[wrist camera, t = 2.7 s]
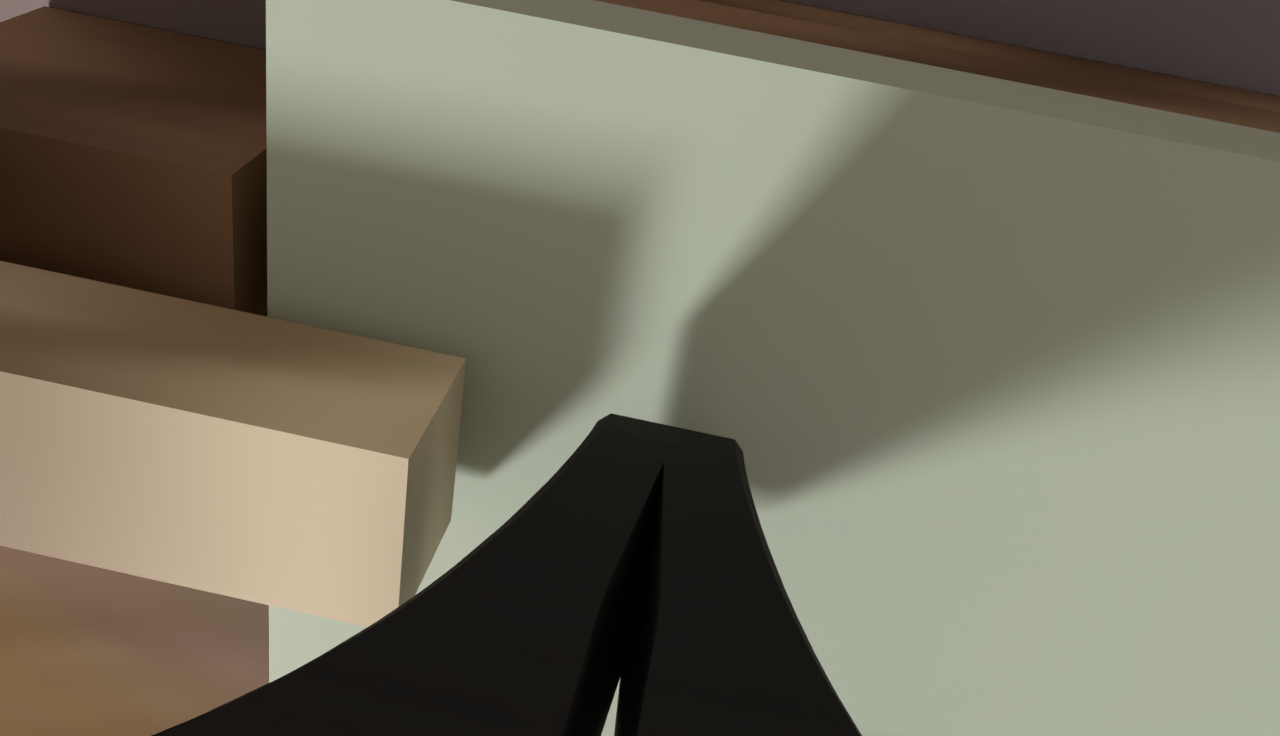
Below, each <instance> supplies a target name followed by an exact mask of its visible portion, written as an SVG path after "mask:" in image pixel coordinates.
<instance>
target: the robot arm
mask: <svg viewBox="0 0 1280 736" xmlns="http://www.w3.org/2000/svg"><path fill="white" fill-rule="evenodd" d="M619 679H620V685H619V694H618V703H617V712H616V721H615V730H614V736H862V735H861V733H860V731H859V730H858V728H857V726H856V725H855V723H854V721H853V720H852V718H851V716H850V715H849V713H848V712H847V710H846V708H845V707H844V705H843V703H842V702H841V700H840V698H839V697H838V695H837V693H836V691H835V690H834V688H833V686H832V684H831V682H830V681H829V679H828V677H827V675H826V673H825V671H824V669H823V668H822V666H821V664H820V662H819V660H818V658H817V656H816V654H815V652H814V650H813V648H812V646H811V644H810V642H809V640H808V638H807V636H806V634H805V632H804V630H803V628H802V625H801V623H800V621H799V619H798V617H797V615H796V613H795V611H794V608H793V606H792V604H791V601H790V599H789V597H788V595H787V592H786V590H785V588H784V585H783V583H782V580H781V577H780V575H779V572H778V570H777V567H776V565H775V562H774V560H773V557H772V555H771V552H770V549H769V547H768V544H767V541H766V539H765V536H764V533H763V530H762V527H761V524H760V521H759V517H758V514H757V511H756V508H755V504H754V501H753V498H752V494H751V490H750V486H749V482H748V478H747V474H746V468H745V463H744V455H743V451H742V449H741V448H740V446H739V445H738V443H737V442H736V441H735V439H731V438H726V437H721V436H717V435H712V434H707V433H702V432H698V431H693V430H688V429H683V428H679V427H674V426H669V425H664V424H660V423H655V422H650V421H645V420H641V419H636V418H631V417H626V416H622V415H617V414H612V413H611V414H609V415H607V416H605V417H604V418H602V419H600V420H598V421H597V423H596V424H595V426H594V427H593V429H592V430H591V432H590V433H589V434H588V436H587V437H586V438H585V440H584V441H583V442H582V443H581V445H580V446H579V447H578V448H577V449H576V451H575V452H574V453H573V454H572V455H571V456H570V458H569V459H568V460H567V461H566V462H565V463H564V464H563V465H562V466H561V468H560V469H559V470H558V471H557V472H556V473H555V474H554V475H553V476H552V477H551V478H550V479H549V481H548V482H547V483H546V484H545V485H543V486H542V487H541V488H540V489H539V490H538V491H537V492H536V493H535V494H534V495H533V496H532V497H531V498H530V499H529V500H528V501H527V502H526V503H525V504H524V505H523V506H522V507H521V508H520V509H519V510H518V511H517V512H516V513H515V514H514V515H513V516H512V517H511V518H510V519H509V520H508V521H506V522H505V523H504V524H503V525H502V526H501V527H500V528H499V529H497V530H496V531H495V532H494V533H493V534H492V535H490V536H489V537H488V538H487V539H486V540H484V541H483V542H482V543H481V544H480V545H479V546H477V547H476V548H475V549H474V550H473V551H471V552H470V553H469V554H468V555H467V556H465V557H464V558H463V559H462V560H461V561H460V562H458V563H457V564H456V565H455V566H454V567H452V568H451V569H450V570H448V571H447V572H446V573H445V574H443V575H442V576H441V577H439V578H438V579H437V580H435V581H434V582H433V583H431V584H430V585H429V586H427V587H426V588H425V589H423V590H422V591H420V592H419V593H418V594H416V595H415V596H414V597H412V598H411V599H409V600H408V601H406V602H405V603H403V604H402V605H400V606H399V607H398V608H396V609H395V610H393V611H392V612H390V613H389V614H387V615H386V616H384V617H383V618H381V619H380V620H378V621H377V622H375V623H374V624H372V625H370V626H369V627H367V628H365V629H364V630H362V631H360V632H359V633H357V634H355V635H354V636H352V637H350V638H349V639H347V640H345V641H344V642H342V643H340V644H339V645H337V646H336V647H334V648H332V649H331V650H329V651H327V652H326V653H324V654H322V655H321V656H319V657H317V658H315V659H313V660H312V661H310V662H308V663H306V664H304V665H303V666H301V667H299V668H297V669H295V670H294V671H292V672H290V673H288V674H286V675H284V676H282V677H280V678H278V679H276V680H274V681H272V682H270V683H268V684H266V685H264V686H262V687H260V688H258V689H255V690H253V691H251V692H249V693H247V694H245V695H243V696H241V697H239V698H236V699H234V700H232V701H230V702H228V703H226V704H224V705H222V706H220V707H218V708H215V709H213V710H211V711H209V712H207V713H205V714H203V715H200V716H198V717H196V718H193V719H191V720H189V721H187V722H184V723H182V724H179V725H177V726H174V727H172V728H169V729H167V730H164V731H162V732H160V733H157V734H155V735H152V736H601V734H602V731H603V728H604V725H605V722H606V719H607V716H608V713H609V710H610V707H611V704H612V701H613V698H614V695H615V692H616V689H617V686H618V683H619Z"/></svg>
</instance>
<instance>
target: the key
mask: <svg viewBox="0 0 1280 736" xmlns="http://www.w3.org/2000/svg"><path fill="white" fill-rule="evenodd" d="M465 366H466V358H461V357H456V356H452V355H447V354H442V353H437V352H433V351H428V350H423V349H418V348H414V347H409V346H404V345H399V344H394V343H390V342H385V341H380V340H375V339H371V338H366V337H361V336H356V335H352V334H347V333H342V332H337V331H333V330H328V329H323V328H318V327H314V326H309V325H304V324H299V323H294V322H290V321H285V320H280V319H275V318H271V317H266V316H261V315H256V314H252V313H247V312H242V311H237V310H233V309H228V308H223V307H218V306H214V305H209V304H204V303H199V302H194V301H190V300H185V299H180V298H175V297H171V296H166V295H161V294H156V293H152V292H147V291H142V290H137V289H133V288H128V287H123V286H118V285H114V284H109V283H104V282H99V281H94V280H90V279H85V278H80V277H75V276H71V275H66V274H61V273H56V272H52V271H47V270H42V269H37V268H33V267H28V266H23V265H18V264H14V263H9V262H4V261H0V546H5V547H9V548H14V549H18V550H23V551H27V552H32V553H36V554H41V555H45V556H50V557H54V558H59V559H63V560H68V561H72V562H77V563H81V564H86V565H90V566H95V567H99V568H104V569H108V570H113V571H117V572H122V573H126V574H131V575H135V576H140V577H144V578H149V579H153V580H158V581H162V582H167V583H171V584H176V585H180V586H185V587H189V588H194V589H198V590H203V591H207V592H212V593H216V594H221V595H225V596H230V597H234V598H239V599H243V600H248V601H252V602H257V603H261V604H266V605H270V606H275V607H279V608H284V609H288V610H293V611H297V612H302V613H306V614H311V615H315V616H320V617H324V618H329V619H333V620H338V621H342V622H347V623H351V624H356V625H360V626H365V627H369V626H370V625H372V624H374V623H375V622H377V621H378V620H380V619H381V618H383V617H384V616H386V615H387V614H389V613H390V612H392V611H393V610H395V609H396V608H398V607H399V606H400V605H402V604H403V603H405V602H406V601H408V600H409V599H411V598H412V597H414V596H415V594H416V592H417V590H418V588H419V586H420V584H421V582H422V580H423V578H424V575H425V573H426V571H427V569H428V567H429V565H430V563H431V561H432V559H433V557H434V555H435V552H436V550H437V548H438V546H439V544H440V542H441V540H442V538H443V536H444V534H445V531H446V529H447V527H448V525H449V523H450V521H451V516H452V506H453V495H454V484H455V473H456V463H457V452H458V441H459V431H460V420H461V409H462V398H463V388H464V377H465Z"/></svg>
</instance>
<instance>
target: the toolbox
mask: <svg viewBox="0 0 1280 736" xmlns="http://www.w3.org/2000/svg"><path fill="white" fill-rule="evenodd" d="M595 1H601V2H606V3H611V4H616V5H621V6H626V7H632V8H637V9H642V10H647V11H652V12H657V13H663V14H668V15H673V16H678V17H683V18H688V19H693V20H699V21H704V22H709V23H714V24H719V25H724V26H730V27H735V28H740V29H745V30H750V31H755V32H761V33H766V34H771V35H776V36H781V37H786V38H792V39H797V40H802V41H807V42H812V43H817V44H823V45H828V46H833V47H838V48H843V49H848V50H853V51H859V52H864V53H869V54H874V55H879V56H884V57H890V58H895V59H900V60H905V61H910V62H915V63H921V64H926V65H931V66H936V67H941V68H946V69H952V70H957V71H962V72H967V73H972V74H977V75H983V76H988V77H993V78H998V79H1003V80H1008V81H1013V82H1019V83H1024V84H1029V85H1034V86H1039V87H1044V88H1050V89H1055V90H1060V91H1065V92H1070V93H1075V94H1081V95H1086V96H1091V97H1096V98H1101V99H1106V100H1112V101H1117V102H1122V103H1127V104H1132V105H1137V106H1143V107H1148V108H1153V109H1158V110H1163V111H1168V112H1173V113H1179V114H1184V115H1189V116H1194V117H1199V118H1204V119H1210V120H1215V121H1220V122H1225V123H1230V124H1235V125H1241V126H1246V127H1251V128H1256V129H1261V130H1266V131H1272V132H1277V133H1280V96H1275V95H1269V94H1264V93H1259V92H1254V91H1249V90H1243V89H1238V88H1233V87H1228V86H1223V85H1217V84H1212V83H1207V82H1202V81H1197V80H1191V79H1186V78H1181V77H1176V76H1171V75H1165V74H1160V73H1155V72H1150V71H1145V70H1139V69H1134V68H1129V67H1124V66H1119V65H1113V64H1108V63H1103V62H1098V61H1093V60H1087V59H1082V58H1077V57H1072V56H1067V55H1061V54H1056V53H1051V52H1046V51H1041V50H1035V49H1030V48H1025V47H1020V46H1014V45H1009V44H1004V43H999V42H994V41H988V40H983V39H978V38H973V37H968V36H962V35H957V34H952V33H947V32H942V31H936V30H931V29H926V28H921V27H916V26H910V25H905V24H900V23H895V22H890V21H884V20H879V19H874V18H869V17H864V16H858V15H853V14H848V13H843V12H838V11H832V10H827V9H822V8H817V7H812V6H806V5H801V4H796V3H791V2H786V1H780V0H595ZM0 261H4V262H9V263H14V264H18V265H23V266H28V267H33V268H37V269H42V270H47V271H52V272H56V273H61V274H66V275H71V276H75V277H80V278H85V279H90V280H94V281H99V282H104V283H109V284H114V285H118V286H123V287H128V288H133V289H137V290H142V291H147V292H152V293H156V294H161V295H166V296H171V297H175V298H180V299H185V300H190V301H194V302H199V303H204V304H209V305H214V306H218V307H223V308H228V309H233V310H237V311H242V312H247V313H252V314H256V315H261V316H266V317H267V133H266V50H261V49H256V48H251V47H246V46H241V45H236V44H231V43H226V42H221V41H216V40H211V39H206V38H201V37H196V36H191V35H186V34H181V33H176V32H171V31H166V30H161V29H156V28H151V27H146V26H141V25H135V24H130V23H125V22H120V21H115V20H110V19H105V18H100V17H95V16H90V15H85V14H80V13H75V12H70V11H65V10H60V9H55V8H50V7H45V6H44V7H42V8H39V9H36V10H33V11H31V12H28V13H25V14H22V15H20V16H17V17H14V18H12V19H9V20H6V21H3V22H1V23H0Z"/></svg>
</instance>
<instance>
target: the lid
mask: <svg viewBox="0 0 1280 736" xmlns="http://www.w3.org/2000/svg"><path fill="white" fill-rule="evenodd" d="M266 133H267V317H271V318H275V319H280V320H285V321H290V322H294V323H299V324H304V325H309V326H314V327H318V328H323V329H328V330H333V331H337V332H342V333H347V334H352V335H356V336H361V337H366V338H371V339H375V340H380V341H385V342H390V343H394V344H399V345H404V346H409V347H414V348H418V349H423V350H428V351H433V352H437V353H442V354H447V355H452V356H456V357H461V358H466V366H465V377H464V388H463V398H462V409H461V420H460V431H459V441H458V452H457V463H456V473H455V484H454V495H453V506H452V516H451V521H450V523H449V525H448V527H447V529H446V531H445V534H444V536H443V538H442V540H441V542H440V544H439V546H438V548H437V550H436V552H435V555H434V557H433V559H432V561H431V563H430V565H429V567H428V569H427V571H426V573H425V575H424V578H423V580H422V582H421V584H420V586H419V588H418V590H417V592H416V594H418V593H419V592H420V591H422V590H423V589H425V588H426V587H427V586H429V585H430V584H431V583H433V582H434V581H435V580H437V579H438V578H439V577H441V576H442V575H443V574H445V573H446V572H447V571H448V570H450V569H451V568H452V567H454V566H455V565H456V564H457V563H458V562H460V561H461V560H462V559H463V558H464V557H465V556H467V555H468V554H469V553H470V552H471V551H473V550H474V549H475V548H476V547H477V546H479V545H480V544H481V543H482V542H483V541H484V540H486V539H487V538H488V537H489V536H490V535H492V534H493V533H494V532H495V531H496V530H497V529H499V528H500V527H501V526H502V525H503V524H504V523H505V522H506V521H508V520H509V519H510V518H511V517H512V516H513V515H514V514H515V513H516V512H517V511H518V510H519V509H520V508H521V507H522V506H523V505H524V504H525V503H526V502H527V501H528V500H529V499H530V498H531V497H532V496H533V495H534V494H535V493H536V492H537V491H538V490H539V489H540V488H541V487H542V486H543V485H545V484H546V483H547V482H548V481H549V479H550V478H551V477H552V476H553V475H554V474H555V473H556V472H557V471H558V470H559V469H560V468H561V466H562V465H563V464H564V463H565V462H566V461H567V460H568V459H569V458H570V456H571V455H572V454H573V453H574V452H575V451H576V449H577V448H578V447H579V446H580V445H581V443H582V442H583V441H584V440H585V438H586V437H587V436H588V434H589V433H590V432H591V430H592V429H593V427H594V426H595V424H596V423H597V421H598V420H600V419H602V418H604V417H605V416H607V415H609V414H611V413H612V414H617V415H622V416H626V417H631V418H636V419H641V420H645V421H650V422H655V423H660V424H664V425H669V426H674V427H679V428H683V429H688V430H693V431H698V432H702V433H707V434H712V435H717V436H721V437H726V438H731V439H735V441H736V442H737V443H738V445H739V446H740V448H741V449H742V451H743V455H744V463H745V468H746V474H747V478H748V482H749V486H750V490H751V494H752V498H753V501H754V504H755V508H756V511H757V514H758V517H759V521H760V524H761V527H762V530H763V533H764V536H765V539H766V541H767V544H768V547H769V549H770V552H771V555H772V557H773V560H774V562H775V565H776V567H777V570H778V572H779V575H780V577H781V580H782V583H783V585H784V588H785V590H786V592H787V595H788V597H789V599H790V601H791V604H792V606H793V608H794V611H795V613H796V615H797V617H798V619H799V621H800V623H801V625H802V628H803V630H804V632H805V634H806V636H807V638H808V640H809V642H810V644H811V646H812V648H813V650H814V652H815V654H816V656H817V658H818V660H819V662H820V664H821V666H822V668H823V669H824V671H825V673H826V675H827V677H828V679H829V681H830V682H831V684H832V686H833V688H834V690H835V691H836V693H837V695H838V697H839V698H840V700H841V702H842V703H843V705H844V707H845V708H846V710H847V712H848V713H849V715H850V716H851V718H852V720H853V721H854V723H855V725H856V726H857V728H858V730H859V731H860V733H861V735H862V736H1280V133H1277V132H1272V131H1266V130H1261V129H1256V128H1251V127H1246V126H1241V125H1235V124H1230V123H1225V122H1220V121H1215V120H1210V119H1204V118H1199V117H1194V116H1189V115H1184V114H1179V113H1173V112H1168V111H1163V110H1158V109H1153V108H1148V107H1143V106H1137V105H1132V104H1127V103H1122V102H1117V101H1112V100H1106V99H1101V98H1096V97H1091V96H1086V95H1081V94H1075V93H1070V92H1065V91H1060V90H1055V89H1050V88H1044V87H1039V86H1034V85H1029V84H1024V83H1019V82H1013V81H1008V80H1003V79H998V78H993V77H988V76H983V75H977V74H972V73H967V72H962V71H957V70H952V69H946V68H941V67H936V66H931V65H926V64H921V63H915V62H910V61H905V60H900V59H895V58H890V57H884V56H879V55H874V54H869V53H864V52H859V51H853V50H848V49H843V48H838V47H833V46H828V45H823V44H817V43H812V42H807V41H802V40H797V39H792V38H786V37H781V36H776V35H771V34H766V33H761V32H755V31H750V30H745V29H740V28H735V27H730V26H724V25H719V24H714V23H709V22H704V21H699V20H693V19H688V18H683V17H678V16H673V15H668V14H663V13H657V12H652V11H647V10H642V9H637V8H632V7H626V6H621V5H616V4H611V3H606V2H601V1H595V0H266ZM416 594H415V595H416ZM365 628H367V627H365V626H360V625H356V624H351V623H347V622H342V621H338V620H333V619H329V618H324V617H320V616H315V615H311V614H306V613H302V612H297V611H293V610H288V609H284V608H279V607H275V606H270V605H269V683H270V682H272V681H274V680H276V679H278V678H280V677H282V676H284V675H286V674H288V673H290V672H292V671H294V670H295V669H297V668H299V667H301V666H303V665H304V664H306V663H308V662H310V661H312V660H313V659H315V658H317V657H319V656H321V655H322V654H324V653H326V652H327V651H329V650H331V649H332V648H334V647H336V646H337V645H339V644H340V643H342V642H344V641H345V640H347V639H349V638H350V637H352V636H354V635H355V634H357V633H359V632H360V631H362V630H364V629H365ZM619 685H620V679H619V683H618V686H617V689H616V692H615V695H614V698H613V701H612V704H611V707H610V710H609V713H608V716H607V719H606V722H605V725H604V728H603V731H602V734H601V736H614V730H615V721H616V712H617V703H618V694H619Z"/></svg>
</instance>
